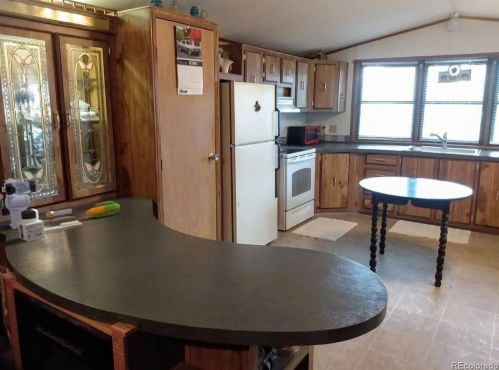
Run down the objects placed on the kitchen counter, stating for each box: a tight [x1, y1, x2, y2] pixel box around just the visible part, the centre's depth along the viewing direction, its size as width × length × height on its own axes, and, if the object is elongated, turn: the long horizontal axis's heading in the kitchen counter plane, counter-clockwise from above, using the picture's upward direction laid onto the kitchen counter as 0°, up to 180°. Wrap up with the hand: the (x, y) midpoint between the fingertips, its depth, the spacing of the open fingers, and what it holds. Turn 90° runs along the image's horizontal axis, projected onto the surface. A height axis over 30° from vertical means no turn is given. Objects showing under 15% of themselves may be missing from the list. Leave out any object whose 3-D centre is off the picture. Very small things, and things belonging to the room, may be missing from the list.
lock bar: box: [46, 208, 73, 218], centre depth 195 cm, size 12×3×2 cm, turn 131°
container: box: [18, 208, 46, 242], centre depth 173 cm, size 8×8×13 cm
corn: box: [84, 200, 121, 219], centre depth 209 cm, size 7×8×20 cm
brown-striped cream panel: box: [42, 215, 83, 235], centre depth 191 cm, size 19×17×4 cm
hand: (24, 188), depth 175 cm, fingers open, 7 cm apart
